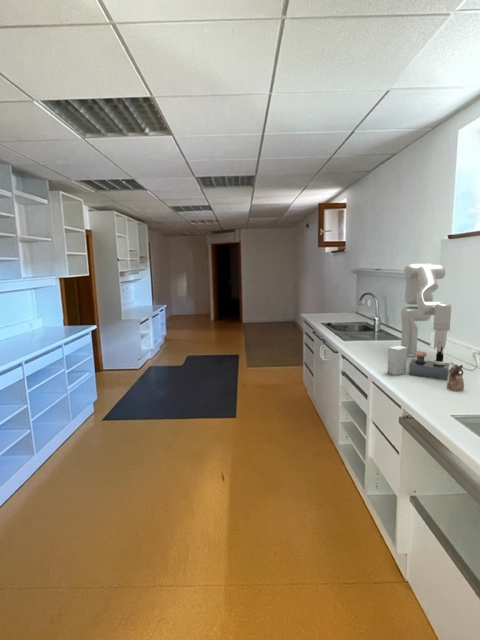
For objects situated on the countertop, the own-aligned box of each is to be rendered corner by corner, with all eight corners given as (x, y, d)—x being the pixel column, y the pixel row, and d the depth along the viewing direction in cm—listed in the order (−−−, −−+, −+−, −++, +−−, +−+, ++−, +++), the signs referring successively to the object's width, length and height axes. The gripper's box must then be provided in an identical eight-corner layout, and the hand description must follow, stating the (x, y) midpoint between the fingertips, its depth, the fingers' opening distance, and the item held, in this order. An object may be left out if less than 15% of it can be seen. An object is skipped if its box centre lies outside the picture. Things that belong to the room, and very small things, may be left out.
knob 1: (415, 364, 200) (416, 351, 199) (425, 365, 197) (426, 352, 196) (414, 366, 196) (415, 353, 195) (424, 367, 193) (425, 354, 192)
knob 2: (433, 372, 196) (434, 359, 194) (444, 374, 193) (445, 360, 192) (432, 375, 192) (433, 361, 190) (443, 376, 189) (444, 362, 188)
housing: (412, 369, 205) (412, 358, 204) (448, 373, 195) (449, 363, 194) (408, 374, 195) (409, 364, 194) (447, 380, 185) (447, 368, 184)
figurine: (446, 385, 178) (448, 361, 176) (463, 387, 174) (465, 363, 172) (446, 389, 172) (447, 365, 170) (463, 392, 168) (465, 367, 166)
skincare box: (397, 370, 202) (398, 345, 200) (406, 373, 197) (407, 347, 195) (386, 373, 199) (387, 346, 196) (395, 376, 193) (396, 349, 191)
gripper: (434, 324, 196) (432, 357, 199) (432, 328, 184) (429, 363, 187) (450, 325, 192) (448, 358, 195) (448, 329, 180) (446, 365, 183)
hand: (439, 361), depth 191 cm, fingers closed
